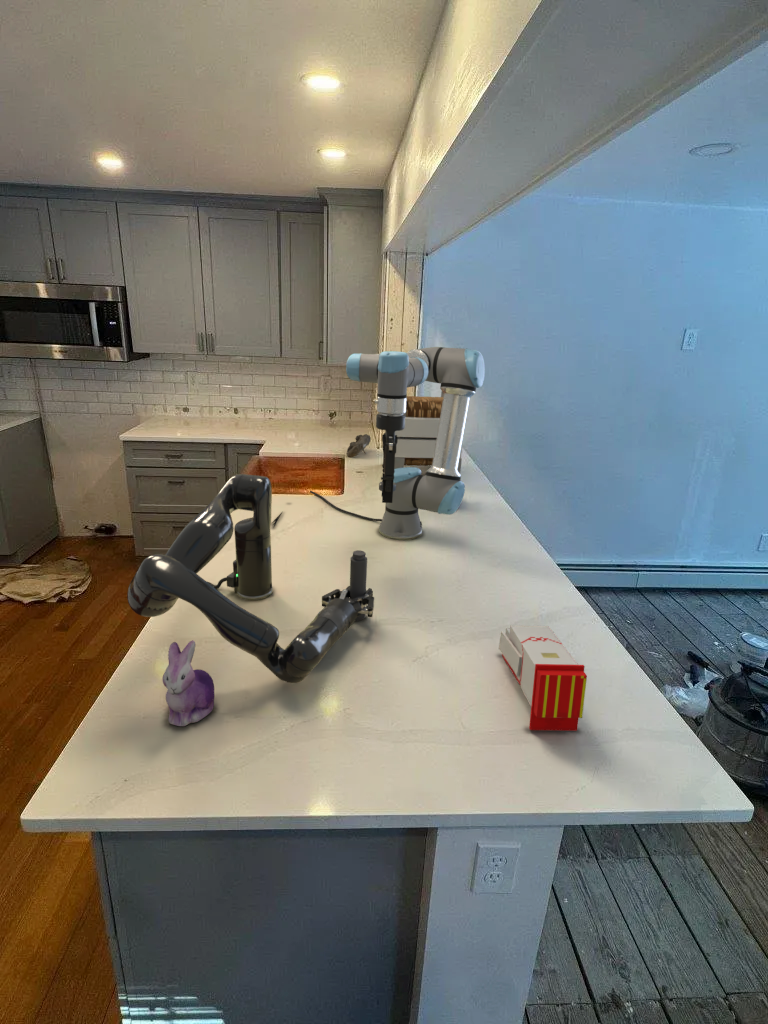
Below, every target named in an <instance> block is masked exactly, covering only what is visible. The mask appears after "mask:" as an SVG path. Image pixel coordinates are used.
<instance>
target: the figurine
mask: <svg viewBox="0 0 768 1024" xmlns="http://www.w3.org/2000/svg"><path fill="white" fill-rule="evenodd" d="M195 649H196V641H195V640H190V641H188V643H186V645H185V646H184V648H183V649H182V650H181V648H180V645H179V644H178V642H176V641H173V642H172V643H170V645H169V648H168V651H167V652H168V654H167V658H168V665H167V667H166V669H165V670H164V672H163V675H162V680H161V681H162V684H163V686H164V687H165V688H166V690H167V691H166V693H165V701H166V704H167V707H168V710H169V715H168V723H169V724H170V725H173V726H176V727H177V726H178V727H185V726H187V725H189V724H192V723H193V724H194V723H197V722H200V721H201V720H203V719H204V718H205V717H207V716H209V714H210V713H212V711H213V709H214V705H215V684H214V683H215V682H214V680H213V678H212V676H211V675H210V673H208V672H207V671H205V670H203V669H194V668H193V666H192V660H193V657H194V654H195Z"/></svg>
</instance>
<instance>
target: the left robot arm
mask: <svg viewBox="0 0 768 1024" xmlns="http://www.w3.org/2000/svg"><path fill="white" fill-rule="evenodd" d="M272 487H273V486H272V483H271V480H270V478H268V477H267V476H264V475H256V474H247V473H237V474H234V475H232V476H231V477H230V478H229V479H228V480H227V481H226V482H225V483H224V485H223V486H222V488H221V489H219V492H217V494H216V495H215V496H214V498H213V499H212V500H211V501H210V502H208V504H207V505H206V506H205V507H204V508H203V509H202V510H201V511H200V512H199V513H197V514H196V515H195V516H194V517H193V518H192V519H191V520H190V521H189V522H188V523H187V524H186V525H185V526H184V528H183V529H182V530H181V531H180V533H179V534H178V535H177V537H176V538H175V540H174V541H173V542H172V544H171V546H169V548H168V550H167V551H166V552H165V554H163V553H156V554H154V553H153V554H151V555H149V556H147V557H146V558H144V559H143V561H142V562H141V563H140V565H139V567H138V568H137V570H136V572H135V574H134V576H133V577H132V579H131V581H130V582H129V585H128V588H127V593H126V595H127V596H126V598H127V599H126V600H127V603H128V606H129V608H130V609H131V610H132V611H133V612H134V613H135V614H137V615H138V616H141V617H146V618H154V617H158V616H159V617H160V616H162V615H163V614H166V613H167V612H169V611H170V610H171V609H172V608H173V607H174V606H175V604H176V603H177V601H178V600H179V599H180V600H182V601H185V602H186V603H188V604H190V605H192V606H193V607H195V608H196V609H197V610H198V611H200V612H201V613H202V614H203V615H204V616H205V617H206V618H207V620H208V621H209V622H210V623H211V625H212V626H213V628H214V629H215V630H216V632H218V634H219V635H220V636H221V637H222V638H223V639H224V640H225V641H226V642H228V643H229V644H231V645H232V646H234V647H236V648H238V649H240V650H242V651H244V652H245V653H247V654H249V655H251V656H253V657H255V658H256V659H258V660H259V662H260V663H261V664H262V665H263V666H264V667H266V668H267V669H268V670H269V671H270V672H271V673H272V674H273V675H274V676H275V677H276V678H278V679H279V680H281V681H283V682H285V683H288V684H298V683H301V682H302V681H304V680H305V679H306V677H307V676H308V675H309V674H310V673H311V672H312V671H313V670H314V669H315V668H316V667H317V666H318V664H319V663H320V662H321V661H322V659H323V658H324V657H325V655H326V654H327V652H329V651H330V650H331V648H332V647H333V646H334V645H335V643H337V641H339V640H341V638H342V637H343V636H344V635H345V633H347V631H349V629H350V628H351V627H352V626H353V624H354V623H355V622H356V621H355V619H356V617H358V616H360V615H361V614H365V615H367V618H373V617H374V609H375V597H374V590H373V588H371V587H368V588H367V589H366V592H365V593H364V595H362V596H357V597H356V598H354V599H351V598H350V585H348V586H347V587H346V588H345V589H342V590H341V589H339V588H336V589H333V590H332V591H330V592H328V593H326V594H324V595H322V596H321V607H322V609H320V611H319V612H318V613H317V614H316V615H315V617H314V619H313V620H311V622H310V623H309V624H308V625H307V626H306V627H305V628H304V629H303V630H302V631H300V632H299V633H298V634H297V635H296V636H295V637H294V638H293V639H292V640H291V642H289V643H288V645H287V646H286V647H285V648H283V647H282V646H281V645H279V643H278V641H279V638H280V630H279V628H278V627H277V626H275V625H273V624H272V623H270V622H268V621H266V620H264V619H263V618H261V617H259V616H257V615H256V614H253V613H252V612H250V611H248V610H246V609H245V608H243V607H241V605H239V604H237V603H235V602H234V601H233V600H231V599H230V598H228V597H227V596H226V595H224V594H223V593H222V592H220V590H218V589H220V587H221V586H222V584H223V583H224V582H226V586H227V588H231V589H233V590H234V591H233V592H234V594H235V595H237V596H238V597H239V598H241V599H243V600H245V601H258V600H259V601H260V600H263V599H267V598H268V597H269V596H271V595H272V594H273V574H272V572H273V571H272V540H271V539H272V536H271V528H272V527H271V526H272V524H271V523H272V503H273V501H272V500H273V489H272ZM238 510H240V511H247V512H248V511H249V512H252V513H253V516H251V517H248V518H245V519H241V520H240V521H238V522H237V523H235V524H234V521H233V518H232V517H233V516H232V513H234V512H235V511H238ZM233 534H234V545H235V548H234V549H235V560H233V562H232V569H233V570H232V572H230V573H229V574H228V575H227V576H226V577H223V578H221V579H219V581H218V582H217V584H213V583H212V582H210V581H207V580H205V579H204V578H202V577H201V576H200V575H199V574H198V573H199V572H200V571H201V570H202V569H204V568H205V567H206V566H207V565H208V564H209V563H210V562H211V561H212V560H213V559H214V558H215V557H216V556H217V555H218V554H219V553H220V552H221V551H222V549H224V547H225V546H226V545H227V544H228V543H229V541H230V540H231V539H232V537H233ZM364 606H365V608H364V609H363V607H364Z"/></svg>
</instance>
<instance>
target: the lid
mask: <svg viewBox="0 0 768 1024" xmlns="http://www.w3.org/2000/svg"><path fill="white" fill-rule="evenodd" d="M378 490H379V491H381V492H382V491H383V481H382V480H381V481H379V484H378ZM395 490H396V483H394V482H393V491H395Z"/></svg>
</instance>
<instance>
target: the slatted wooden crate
mask: <svg viewBox="0 0 768 1024" xmlns="http://www.w3.org/2000/svg"><path fill="white" fill-rule="evenodd" d="M440 393H441V394H440V396H415V395H414V396H413V395H412V396H411V395H407V394H408V393H407V394H406V397H407V400H406V412H405V413H404V415H405V428H404V429H403V430H401V431H395V435H397V437H398V442H397V444H396V453H395V465H394V469H397V468H404V467H405V466H406V467H410V466H411V467H417V466H418V467H431V466H432V463H433V457H434V450H435V444H436V438H437V432H438V426H439V420H440V414H441V408H442V402H443V396H444V394H443V392H442V391H441V392H440ZM463 442H464V440H462V444H463ZM462 453H463V445H462V446H461V452H460V457H459V463H458V469H457V470H458V472H459V474H460V475H461V472H462V461H463V460H462Z"/></svg>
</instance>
